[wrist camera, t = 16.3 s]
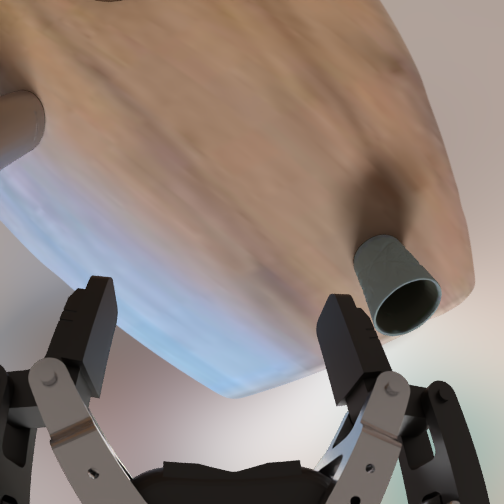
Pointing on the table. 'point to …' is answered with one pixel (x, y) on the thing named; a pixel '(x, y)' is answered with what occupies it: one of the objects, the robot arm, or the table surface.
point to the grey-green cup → (395, 286)
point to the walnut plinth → (108, 0)
